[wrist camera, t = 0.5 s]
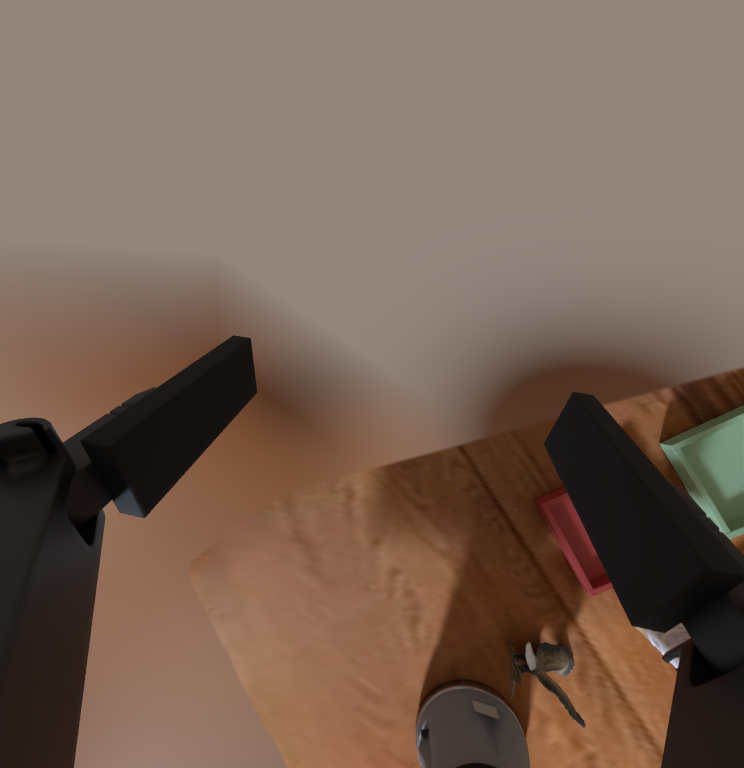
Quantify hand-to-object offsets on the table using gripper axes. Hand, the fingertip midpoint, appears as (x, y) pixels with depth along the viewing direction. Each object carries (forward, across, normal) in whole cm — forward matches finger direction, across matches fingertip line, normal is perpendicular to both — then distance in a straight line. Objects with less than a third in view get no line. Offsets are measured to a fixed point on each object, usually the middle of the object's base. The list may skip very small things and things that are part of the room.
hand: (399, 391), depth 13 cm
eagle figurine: (+10, -27, +47) cm, 55 cm away
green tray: (+26, -48, +19) cm, 58 cm away
